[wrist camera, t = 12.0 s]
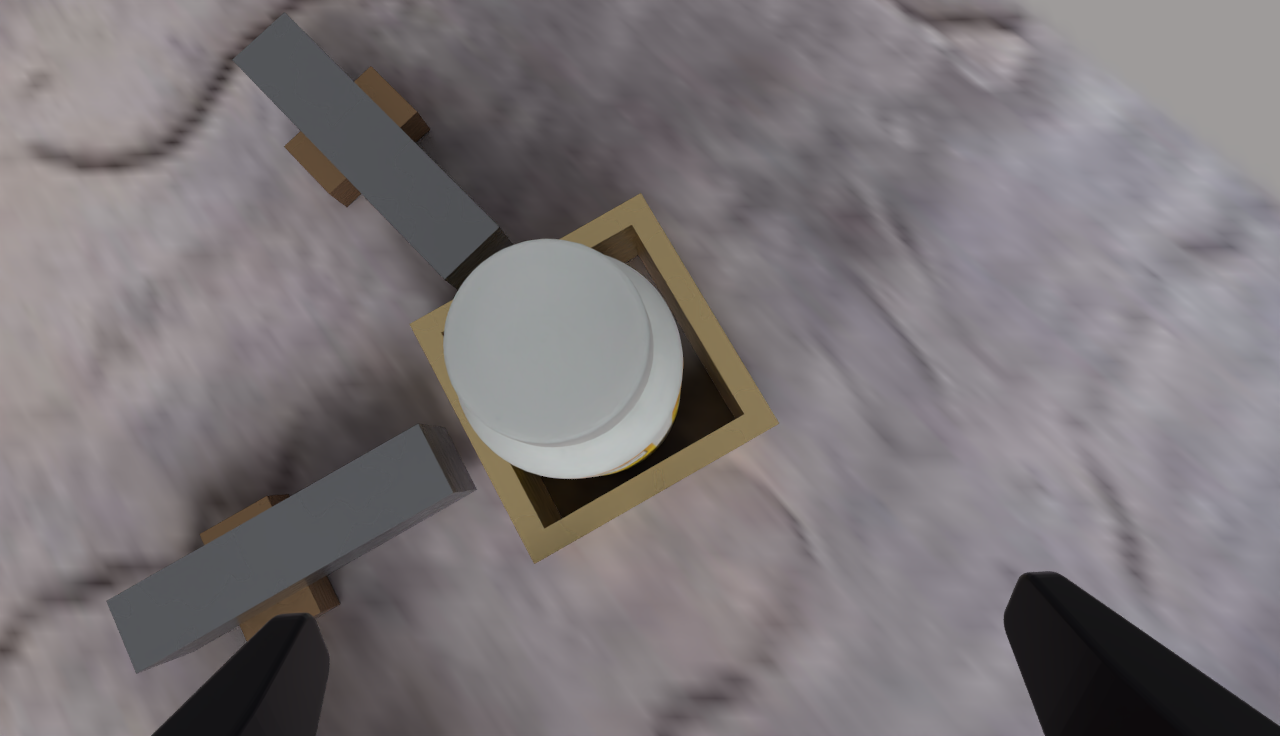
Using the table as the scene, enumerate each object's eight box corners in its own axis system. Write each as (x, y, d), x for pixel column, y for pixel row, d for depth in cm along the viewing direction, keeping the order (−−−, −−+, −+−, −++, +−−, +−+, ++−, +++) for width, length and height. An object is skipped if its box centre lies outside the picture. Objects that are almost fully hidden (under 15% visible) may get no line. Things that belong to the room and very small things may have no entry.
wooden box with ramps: (252, 723, 22) (175, 769, 18) (41, 237, 24) (-58, 203, 21) (766, 428, 22) (780, 422, 19) (499, -19, 25) (471, -92, 21)
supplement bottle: (617, 507, 22) (572, 544, 12) (486, 411, 23) (347, 375, 13) (713, 371, 22) (741, 305, 13) (581, 280, 23) (515, 153, 13)
